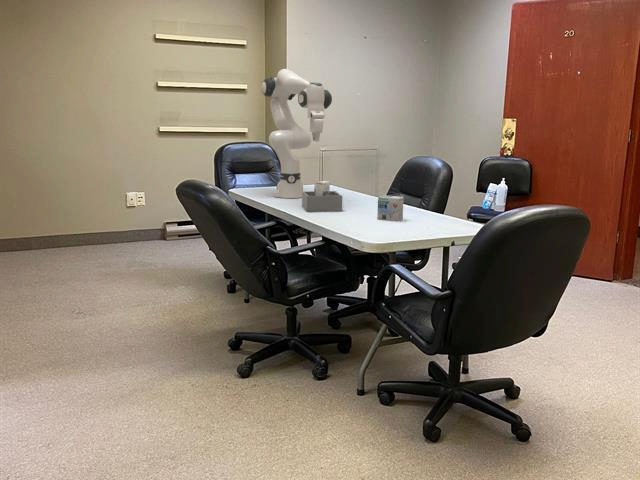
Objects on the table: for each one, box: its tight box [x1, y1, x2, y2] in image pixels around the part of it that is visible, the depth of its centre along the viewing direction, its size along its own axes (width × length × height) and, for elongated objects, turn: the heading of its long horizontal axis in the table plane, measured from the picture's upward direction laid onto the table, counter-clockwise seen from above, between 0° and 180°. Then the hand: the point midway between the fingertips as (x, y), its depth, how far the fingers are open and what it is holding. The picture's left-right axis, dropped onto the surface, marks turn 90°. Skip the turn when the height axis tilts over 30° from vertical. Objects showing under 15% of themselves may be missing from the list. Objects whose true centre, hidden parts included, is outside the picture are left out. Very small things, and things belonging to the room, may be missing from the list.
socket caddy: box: [301, 190, 343, 213], centre depth 306 cm, size 18×18×8 cm
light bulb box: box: [376, 194, 405, 222], centre depth 278 cm, size 11×7×11 cm, turn 62°
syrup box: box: [313, 180, 331, 196], centre depth 305 cm, size 6×6×14 cm
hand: (315, 141), depth 313 cm, fingers open, 8 cm apart
